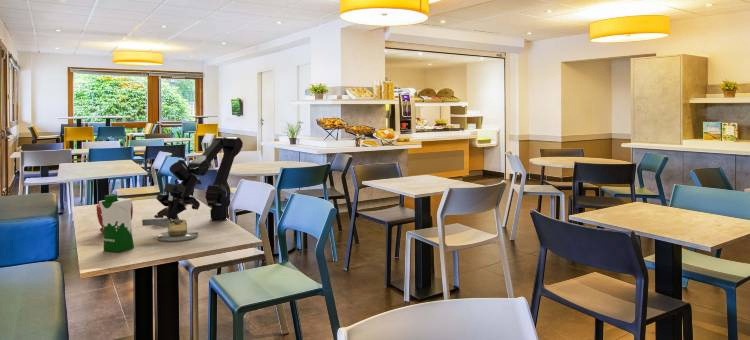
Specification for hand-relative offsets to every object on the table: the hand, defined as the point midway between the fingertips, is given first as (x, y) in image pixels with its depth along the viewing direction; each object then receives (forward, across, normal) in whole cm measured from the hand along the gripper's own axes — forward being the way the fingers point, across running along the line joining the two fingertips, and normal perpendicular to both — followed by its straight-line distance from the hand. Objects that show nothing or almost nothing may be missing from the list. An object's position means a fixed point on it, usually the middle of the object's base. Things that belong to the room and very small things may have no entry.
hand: (167, 219), depth 212 cm
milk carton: (+21, +1, -13) cm, 25 cm away
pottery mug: (-6, -15, +15) cm, 22 cm away
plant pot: (+9, -22, 0) cm, 23 cm away
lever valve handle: (+7, +3, 0) cm, 8 cm away
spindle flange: (+6, +7, +3) cm, 10 cm away
